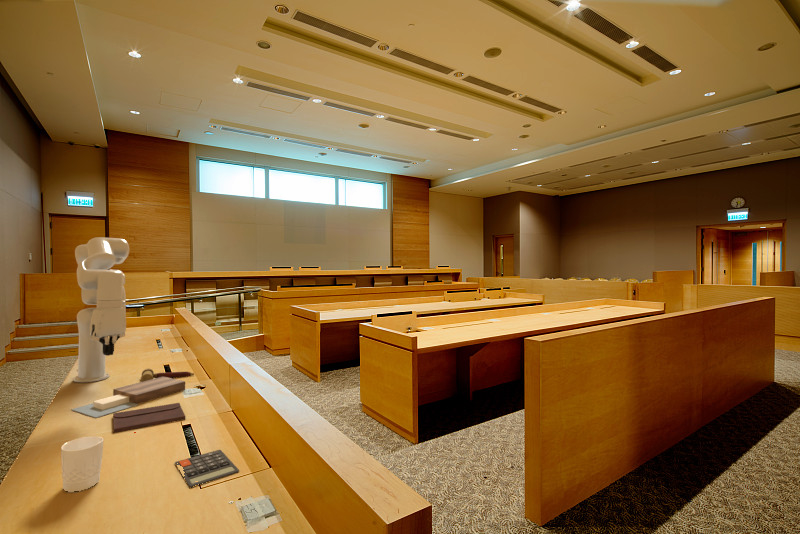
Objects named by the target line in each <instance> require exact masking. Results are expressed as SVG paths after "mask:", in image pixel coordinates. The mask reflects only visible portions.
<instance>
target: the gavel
mask: <svg viewBox="0 0 800 534" xmlns="http://www.w3.org/2000/svg"><path fill="white" fill-rule="evenodd" d="M194 375H195V372H190V371H174V372H173V371H171V372H167V371H166V372H158V373H154V370H153V369H152V368H145V369H143V370H142V373H141V377H140V382H144V381H148V380H152V379H155V378H159V377H168V378H172V377H174V378H172V379H176V377H177V378H185V377H186V376H187V377H191V376H194ZM187 377H186V378H187Z"/></svg>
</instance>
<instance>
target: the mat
mask: <svg viewBox="0 0 800 534" xmlns="http://www.w3.org/2000/svg"><path fill="white" fill-rule="evenodd" d="M137 406H139V404H135V403H131V402H128V403H124V404H121V405H118V406H114V407H111V408H107V409H104V410H102V409H98V408H95V407H93V402H91V403H90V404H85V405H83V406H82V405H81V406H78V407H75V408H71V411H73V412H75V413H79V414H81V415H85V416H88V417H92V418H95V419H97V418H100V417H104V416H108V415H110V414H113V413H119V412H120V411H121V412H122V411H123V410H127V409H131V408H135V407H137Z"/></svg>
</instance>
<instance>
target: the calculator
mask: <svg viewBox="0 0 800 534" xmlns="http://www.w3.org/2000/svg"><path fill="white" fill-rule="evenodd" d="M177 463H178V464H177ZM175 464H176V465H180V466H182V467H183V469H184V470H183V471H184V472H185V473H184V475H185V476H184V478H185V480H186V481H185V480H184V481H185V483H186V482H187V483H188V484H187V483H186V484H187V486H188V485H189V486H188V487H189V488H190V487H192V488H194V487H193V486H195V485H198V484H201V485H203V484H202V483H204V484H207V483H206V482H208V483H210V482H209V481H211V482H213V480H214V481H216V480H219V479H222V478H225V477H229V476H232V475H234V474H237V473H239V472H240V469H239V468H238V467H237V466H236V465H235V464H234V463H233V462H232V461H231V459H230V458H229V457H228V456H227V455H226V454H225V453H224V452H223V451H222V450H221V449H217V450H213V451H210V452H206V453H202V454H199V455H196V456H192V457H189V458H184V459H181V460H178V461H175V462H174V465H175ZM176 465H175V466H176ZM184 478H183V479H184ZM195 481H198V482H195ZM198 486H199V485H198ZM195 487H196V486H195Z"/></svg>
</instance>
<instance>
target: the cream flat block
mask: <svg viewBox="0 0 800 534" xmlns="http://www.w3.org/2000/svg"><path fill="white" fill-rule="evenodd" d="M128 402H129V396H125V395H121V394H118V395H115V396H113V395H111V396H108V397H104V398H101V399H97V400H93V401H92V403H93V407H95V408H98V409H102V410H104V409H107V408H111V407H114V406H118V405H121V404H124V403H128Z"/></svg>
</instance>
